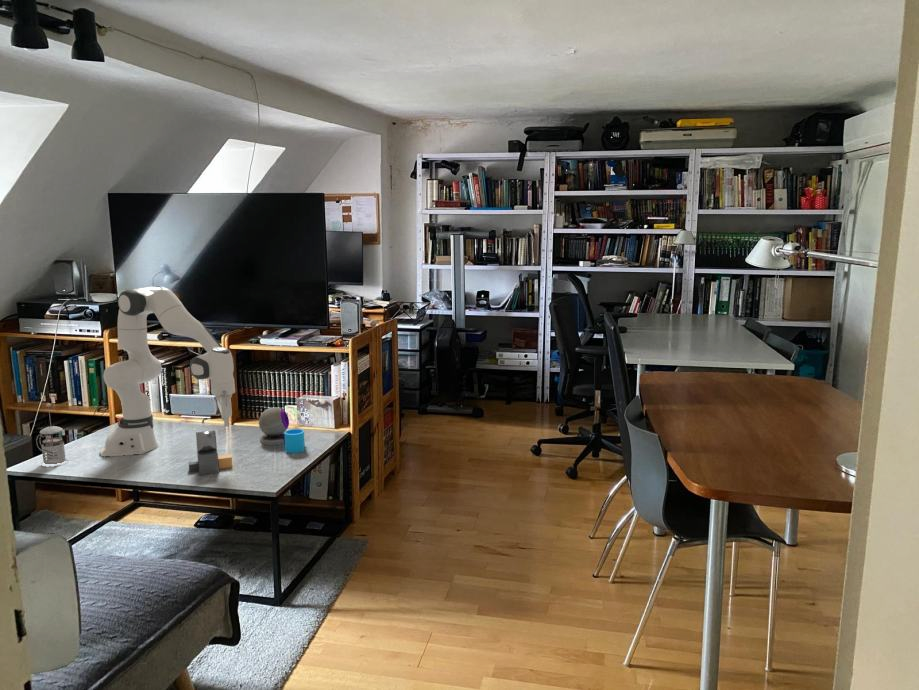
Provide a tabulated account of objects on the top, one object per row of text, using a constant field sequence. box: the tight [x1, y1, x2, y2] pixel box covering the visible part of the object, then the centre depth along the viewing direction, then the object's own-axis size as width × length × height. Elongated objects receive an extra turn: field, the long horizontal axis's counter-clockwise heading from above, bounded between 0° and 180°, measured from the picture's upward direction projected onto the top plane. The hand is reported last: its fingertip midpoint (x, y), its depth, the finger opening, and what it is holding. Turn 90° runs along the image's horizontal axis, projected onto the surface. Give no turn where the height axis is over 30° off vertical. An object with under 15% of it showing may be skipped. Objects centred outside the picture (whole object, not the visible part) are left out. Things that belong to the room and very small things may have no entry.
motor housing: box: [195, 429, 220, 476], centre depth 270 cm, size 7×14×15 cm, turn 23°
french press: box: [35, 402, 68, 464], centre depth 276 cm, size 10×12×25 cm
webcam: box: [258, 406, 290, 446], centre depth 305 cm, size 13×13×15 cm
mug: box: [284, 428, 306, 454], centre depth 294 cm, size 12×8×8 cm
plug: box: [188, 453, 233, 473], centre depth 272 cm, size 16×4×4 cm, turn 113°
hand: (225, 422), depth 271 cm, fingers open, 8 cm apart
